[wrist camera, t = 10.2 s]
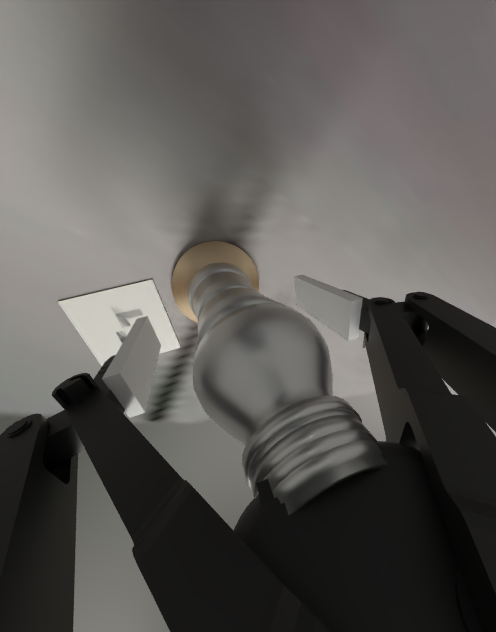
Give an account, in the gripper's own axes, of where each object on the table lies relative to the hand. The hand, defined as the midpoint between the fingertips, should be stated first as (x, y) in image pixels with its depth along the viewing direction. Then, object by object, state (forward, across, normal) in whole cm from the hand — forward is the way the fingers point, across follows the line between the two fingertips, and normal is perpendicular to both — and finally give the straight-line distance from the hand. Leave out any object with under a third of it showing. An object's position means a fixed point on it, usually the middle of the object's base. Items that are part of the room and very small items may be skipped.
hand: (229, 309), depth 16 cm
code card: (+8, -11, -2) cm, 14 cm away
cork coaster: (+8, 0, 0) cm, 8 cm away
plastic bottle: (+7, 0, 0) cm, 7 cm away
